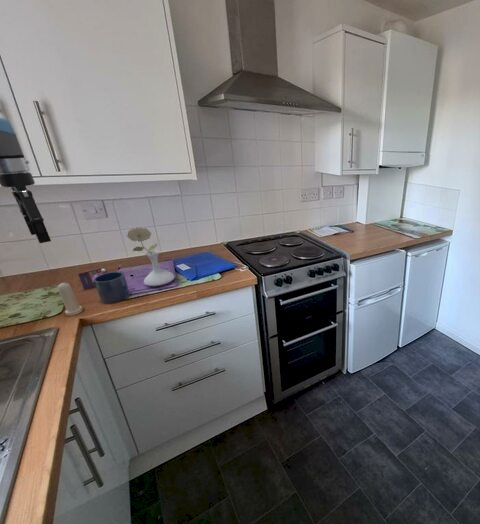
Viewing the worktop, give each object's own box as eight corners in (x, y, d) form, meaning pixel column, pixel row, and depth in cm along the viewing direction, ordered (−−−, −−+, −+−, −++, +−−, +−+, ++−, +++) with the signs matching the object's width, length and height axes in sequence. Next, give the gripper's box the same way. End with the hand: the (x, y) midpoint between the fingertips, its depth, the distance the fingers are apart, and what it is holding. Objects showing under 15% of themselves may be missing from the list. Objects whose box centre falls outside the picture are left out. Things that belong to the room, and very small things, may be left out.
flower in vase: (178, 275, 135) (165, 222, 125) (170, 287, 125) (155, 229, 115) (146, 278, 132) (130, 223, 122) (135, 290, 122) (117, 231, 112)
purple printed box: (78, 273, 121) (105, 267, 127) (77, 274, 124) (104, 267, 130) (84, 289, 122) (111, 282, 128) (83, 289, 125) (110, 282, 131)
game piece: (62, 315, 105) (49, 286, 100) (72, 308, 109) (60, 280, 104) (76, 315, 105) (64, 286, 101) (86, 308, 109) (74, 280, 105)
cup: (95, 303, 112) (87, 282, 109) (111, 292, 121) (104, 272, 117) (120, 303, 113) (113, 281, 109) (134, 291, 121) (128, 271, 118)
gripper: (38, 174, 88) (64, 242, 96) (23, 168, 102) (47, 228, 110) (1, 177, 83) (32, 249, 91) (-10, 170, 97) (18, 233, 105)
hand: (40, 237), depth 101 cm, fingers open, 13 cm apart
